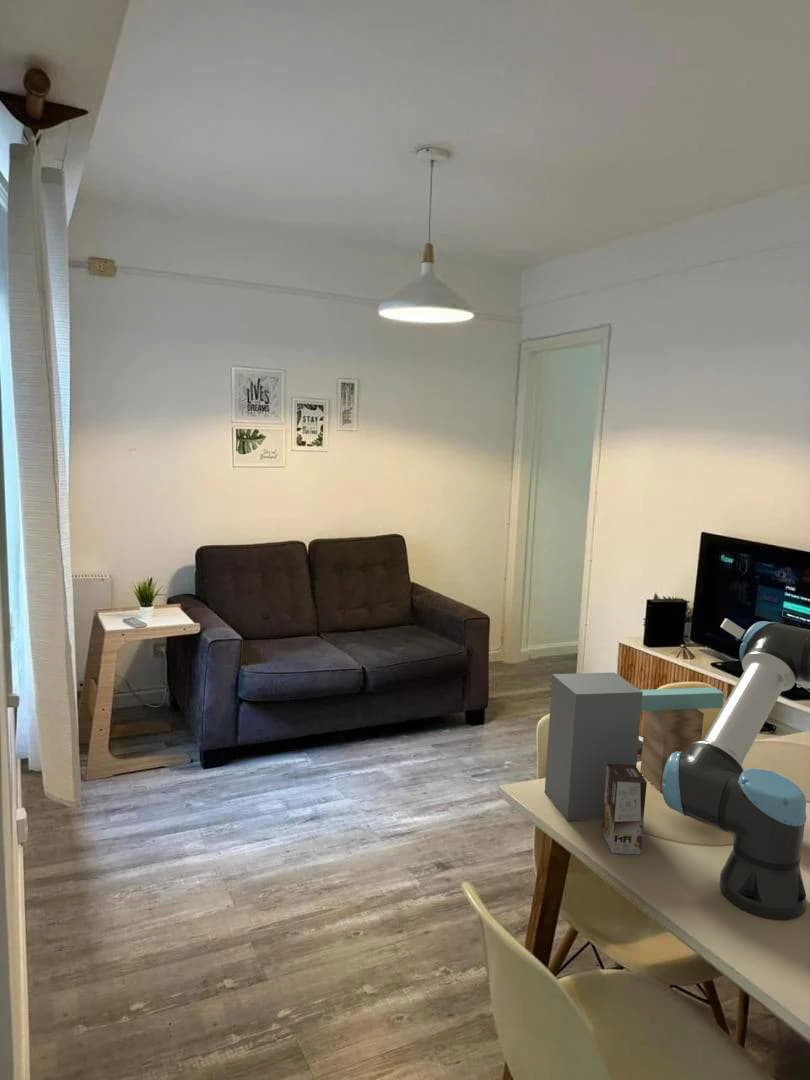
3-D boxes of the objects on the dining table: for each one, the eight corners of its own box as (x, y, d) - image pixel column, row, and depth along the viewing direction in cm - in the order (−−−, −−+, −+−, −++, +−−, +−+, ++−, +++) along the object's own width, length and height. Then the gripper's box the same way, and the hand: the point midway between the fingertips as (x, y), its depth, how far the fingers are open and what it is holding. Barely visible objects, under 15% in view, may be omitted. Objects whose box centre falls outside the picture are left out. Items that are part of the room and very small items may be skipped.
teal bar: (713, 702, 196) (714, 687, 196) (722, 708, 192) (723, 692, 192) (626, 705, 192) (628, 690, 191) (634, 711, 188) (635, 695, 187)
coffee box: (641, 855, 160) (648, 782, 158) (611, 853, 160) (616, 781, 158) (630, 832, 169) (635, 763, 167) (600, 831, 169) (606, 762, 167)
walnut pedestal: (675, 772, 201) (681, 699, 198) (696, 789, 191) (703, 713, 188) (640, 774, 199) (646, 700, 196) (659, 792, 189) (666, 714, 186)
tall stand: (605, 788, 190) (614, 672, 186) (632, 816, 176) (642, 692, 172) (544, 792, 187) (552, 674, 182) (567, 821, 173) (576, 694, 169)
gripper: (826, 697, 186) (763, 656, 181) (760, 665, 210) (703, 629, 205) (842, 671, 186) (780, 629, 181) (775, 642, 210) (718, 605, 205)
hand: (739, 629), depth 193 cm, fingers open, 13 cm apart
